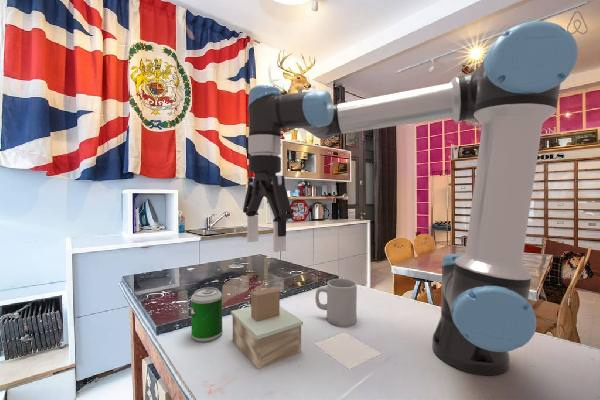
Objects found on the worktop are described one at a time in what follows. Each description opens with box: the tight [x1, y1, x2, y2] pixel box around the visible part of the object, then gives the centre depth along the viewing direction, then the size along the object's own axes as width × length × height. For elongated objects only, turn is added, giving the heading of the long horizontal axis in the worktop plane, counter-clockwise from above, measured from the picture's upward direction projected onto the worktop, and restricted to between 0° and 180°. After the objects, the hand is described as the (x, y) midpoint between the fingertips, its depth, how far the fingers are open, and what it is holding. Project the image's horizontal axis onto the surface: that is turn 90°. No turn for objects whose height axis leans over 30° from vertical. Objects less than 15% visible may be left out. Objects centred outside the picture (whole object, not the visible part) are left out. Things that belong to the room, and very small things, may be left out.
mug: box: [315, 278, 358, 328], centre depth 85 cm, size 12×8×11 cm
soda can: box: [190, 287, 223, 343], centre depth 74 cm, size 8×8×12 cm
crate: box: [232, 316, 302, 369], centre depth 70 cm, size 14×11×7 cm
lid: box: [230, 286, 304, 339], centre depth 69 cm, size 15×12×8 cm
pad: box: [314, 332, 381, 370], centre depth 68 cm, size 12×10×1 cm
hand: (265, 246), depth 69 cm, fingers open, 13 cm apart
